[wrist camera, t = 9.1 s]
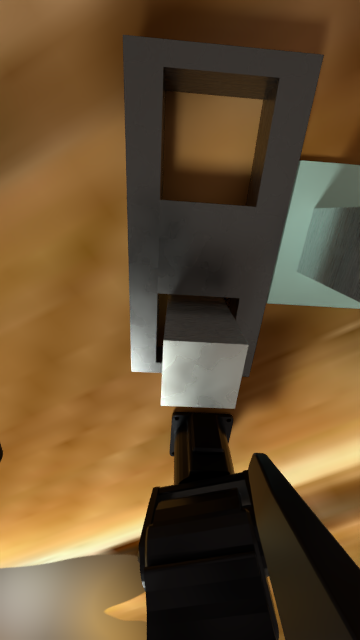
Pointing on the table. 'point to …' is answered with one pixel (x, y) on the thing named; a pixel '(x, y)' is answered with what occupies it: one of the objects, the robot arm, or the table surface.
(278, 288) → the mat
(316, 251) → the block
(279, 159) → the rail
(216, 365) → the block
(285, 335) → the table surface
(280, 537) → the robot arm
